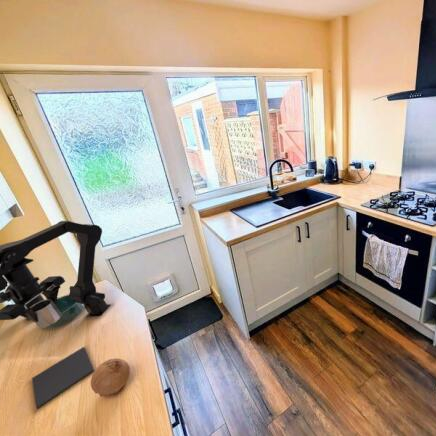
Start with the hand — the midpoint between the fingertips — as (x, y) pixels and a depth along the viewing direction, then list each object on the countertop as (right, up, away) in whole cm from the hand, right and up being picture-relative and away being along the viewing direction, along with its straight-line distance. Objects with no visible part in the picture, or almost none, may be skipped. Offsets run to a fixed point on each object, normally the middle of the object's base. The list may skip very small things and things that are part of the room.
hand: (46, 314), depth 88 cm
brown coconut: (+35, -17, -13) cm, 41 cm away
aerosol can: (-23, -8, +20) cm, 32 cm away
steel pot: (0, -3, +1) cm, 3 cm away
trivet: (+14, -17, -8) cm, 24 cm away
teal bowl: (-9, -7, +17) cm, 21 cm away
